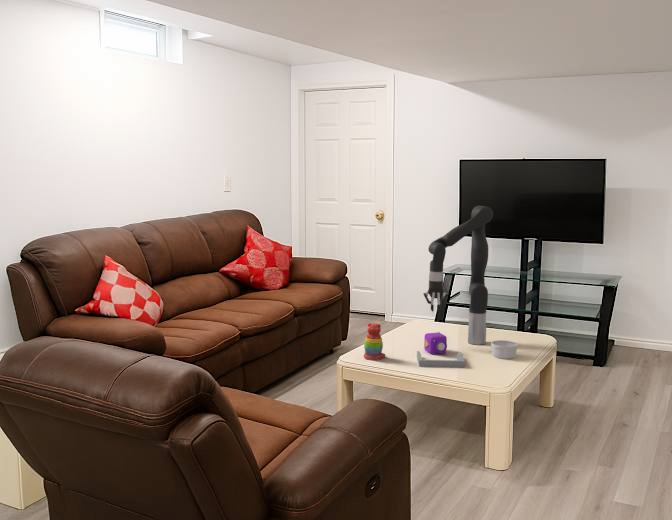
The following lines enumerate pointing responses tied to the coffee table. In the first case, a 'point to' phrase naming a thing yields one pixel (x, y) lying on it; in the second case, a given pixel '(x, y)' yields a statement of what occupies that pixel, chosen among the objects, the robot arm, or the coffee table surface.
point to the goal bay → (441, 361)
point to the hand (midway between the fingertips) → (435, 311)
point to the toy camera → (435, 343)
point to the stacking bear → (373, 343)
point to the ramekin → (504, 349)
